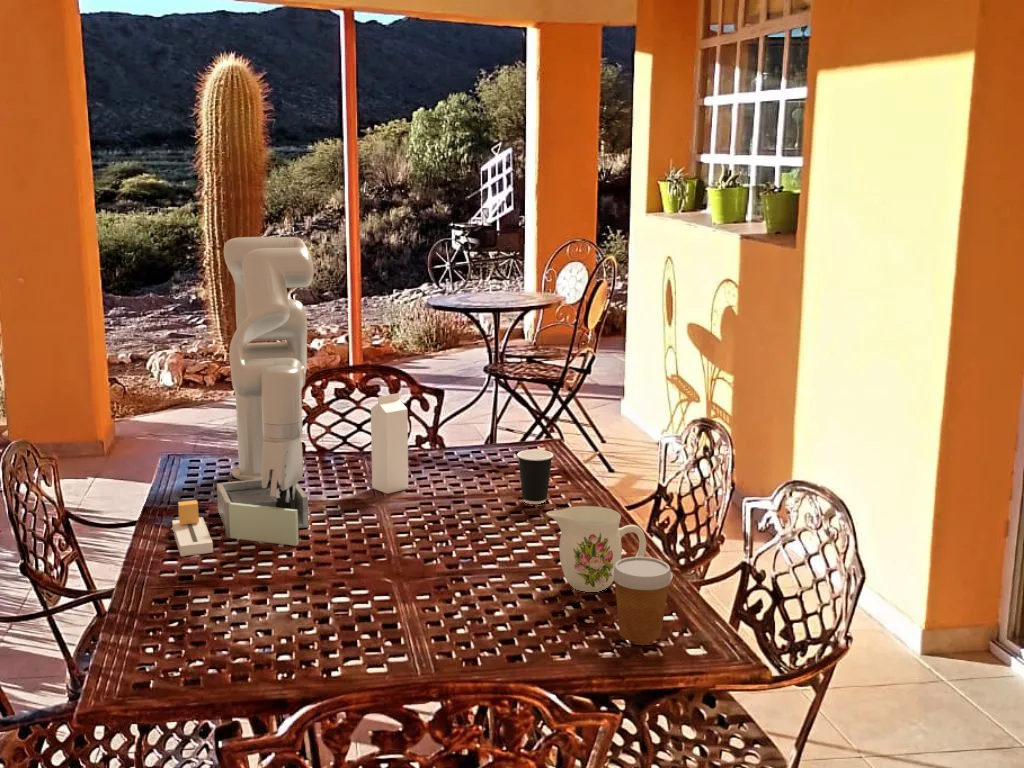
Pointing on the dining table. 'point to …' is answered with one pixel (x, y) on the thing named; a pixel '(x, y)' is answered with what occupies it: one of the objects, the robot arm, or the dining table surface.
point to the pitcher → (591, 545)
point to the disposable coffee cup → (641, 596)
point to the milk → (389, 444)
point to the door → (261, 523)
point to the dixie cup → (534, 475)
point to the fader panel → (192, 538)
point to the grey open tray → (258, 497)
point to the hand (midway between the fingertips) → (285, 519)
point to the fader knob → (188, 512)
